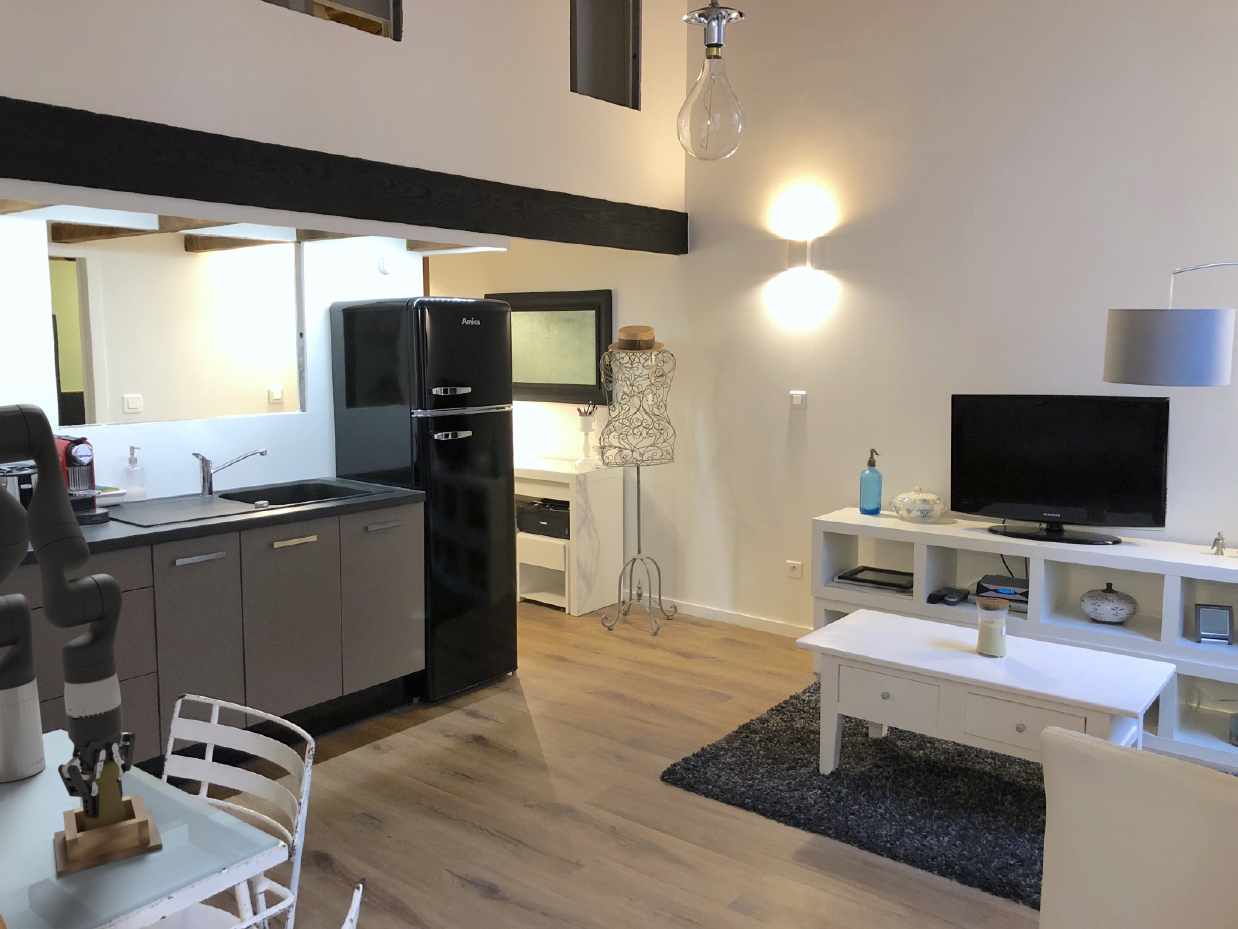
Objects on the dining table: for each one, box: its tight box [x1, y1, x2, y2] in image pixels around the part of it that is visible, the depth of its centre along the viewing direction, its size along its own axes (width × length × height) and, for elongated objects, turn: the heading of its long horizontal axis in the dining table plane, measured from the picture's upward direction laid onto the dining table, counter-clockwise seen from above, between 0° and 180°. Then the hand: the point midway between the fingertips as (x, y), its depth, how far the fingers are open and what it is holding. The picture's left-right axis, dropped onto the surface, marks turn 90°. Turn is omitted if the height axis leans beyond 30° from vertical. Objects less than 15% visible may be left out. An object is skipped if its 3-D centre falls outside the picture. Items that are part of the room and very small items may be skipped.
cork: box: [84, 761, 127, 831], centre depth 149 cm, size 6×6×11 cm
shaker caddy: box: [53, 792, 163, 877], centre depth 150 cm, size 14×14×4 cm
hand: (104, 809), depth 149 cm, fingers closed on cork, 4 cm apart
